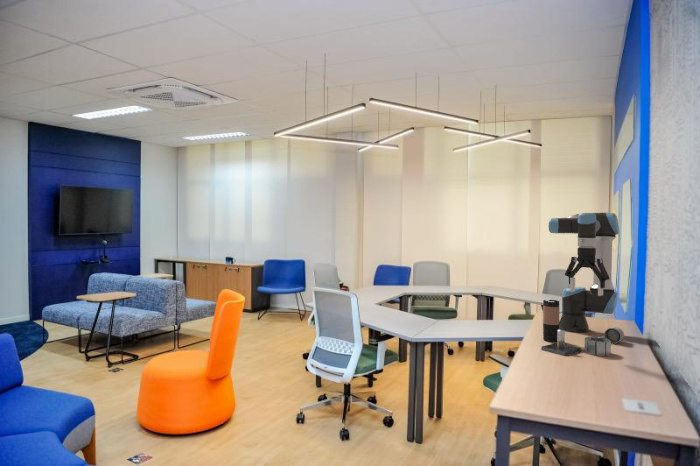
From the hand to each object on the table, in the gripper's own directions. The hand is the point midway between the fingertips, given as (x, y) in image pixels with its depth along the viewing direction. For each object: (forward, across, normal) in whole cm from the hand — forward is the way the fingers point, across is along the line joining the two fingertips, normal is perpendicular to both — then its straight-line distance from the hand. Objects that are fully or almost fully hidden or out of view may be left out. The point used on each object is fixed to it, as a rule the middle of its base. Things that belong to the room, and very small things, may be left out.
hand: (586, 293), depth 214 cm
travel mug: (+27, -21, +4) cm, 35 cm away
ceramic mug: (+27, -4, +28) cm, 39 cm away
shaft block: (+27, -7, -8) cm, 29 cm away
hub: (+27, +4, +3) cm, 27 cm away
